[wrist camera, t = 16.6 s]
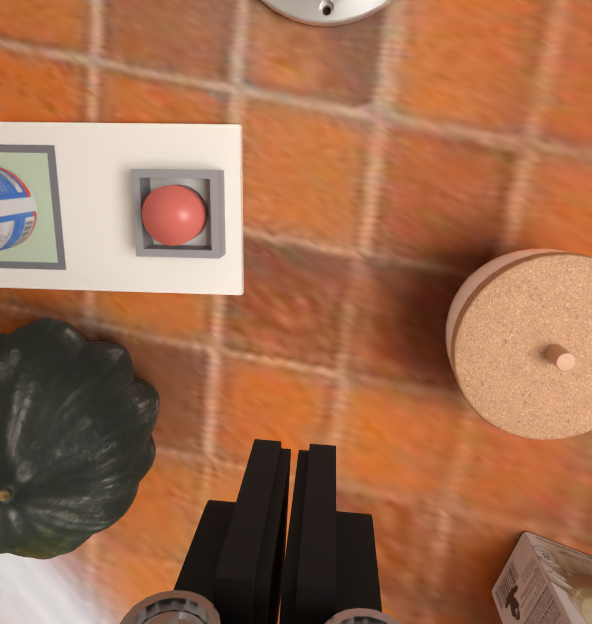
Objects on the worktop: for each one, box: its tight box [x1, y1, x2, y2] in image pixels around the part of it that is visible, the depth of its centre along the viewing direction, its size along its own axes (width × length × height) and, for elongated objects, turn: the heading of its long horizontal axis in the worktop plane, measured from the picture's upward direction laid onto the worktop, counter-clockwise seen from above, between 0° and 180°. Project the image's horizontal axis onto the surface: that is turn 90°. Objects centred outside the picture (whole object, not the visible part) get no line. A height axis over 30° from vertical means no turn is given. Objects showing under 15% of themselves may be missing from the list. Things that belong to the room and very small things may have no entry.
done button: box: [142, 184, 208, 246], centre depth 34 cm, size 4×4×2 cm
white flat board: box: [0, 122, 244, 295], centre depth 36 cm, size 11×21×3 cm, turn 89°
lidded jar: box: [445, 249, 592, 440], centre depth 33 cm, size 11×11×9 cm
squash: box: [0, 318, 160, 559], centre depth 36 cm, size 14×15×15 cm
